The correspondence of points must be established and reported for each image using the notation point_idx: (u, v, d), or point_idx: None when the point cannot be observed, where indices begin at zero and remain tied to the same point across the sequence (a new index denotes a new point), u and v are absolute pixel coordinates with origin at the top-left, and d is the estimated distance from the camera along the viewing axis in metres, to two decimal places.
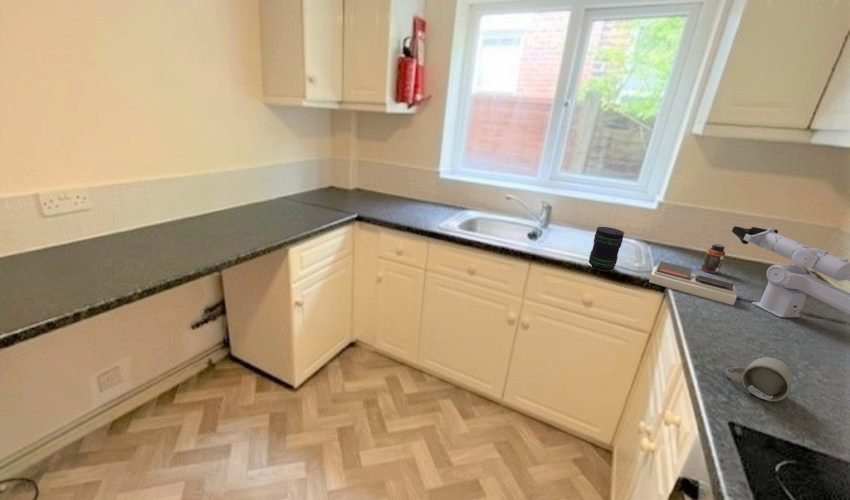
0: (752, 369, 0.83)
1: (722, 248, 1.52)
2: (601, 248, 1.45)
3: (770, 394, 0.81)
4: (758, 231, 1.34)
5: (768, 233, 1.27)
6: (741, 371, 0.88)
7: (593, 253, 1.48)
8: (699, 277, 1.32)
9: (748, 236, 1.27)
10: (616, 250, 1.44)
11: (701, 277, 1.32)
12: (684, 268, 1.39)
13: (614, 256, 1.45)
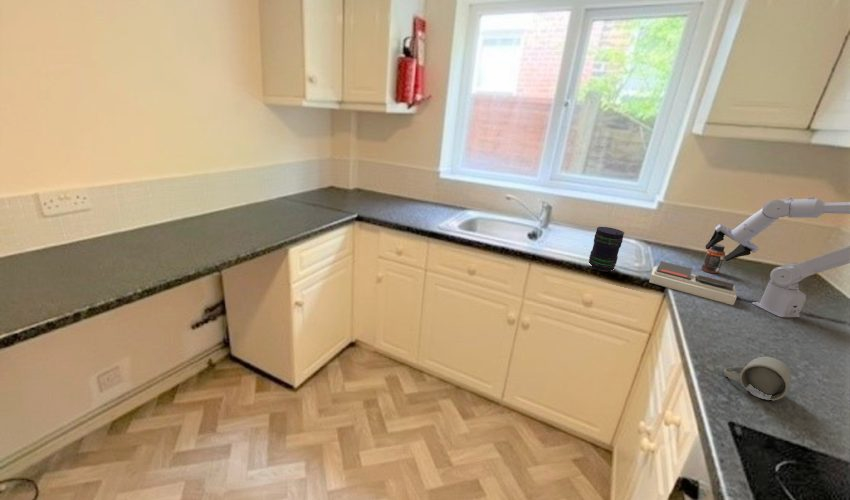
0: (750, 368, 0.83)
1: (722, 248, 1.52)
2: (601, 248, 1.45)
3: (768, 393, 0.81)
4: (732, 253, 1.36)
5: None
6: (740, 370, 0.88)
7: (593, 253, 1.48)
8: (699, 277, 1.32)
9: (718, 225, 1.33)
10: (616, 250, 1.44)
11: (701, 277, 1.32)
12: (684, 268, 1.39)
13: (614, 256, 1.45)
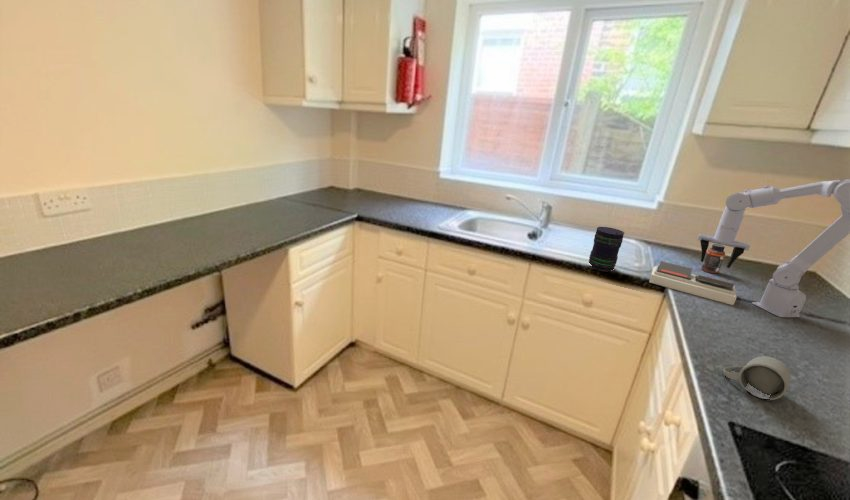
0: (749, 368, 0.83)
1: (722, 248, 1.52)
2: (601, 248, 1.45)
3: (767, 393, 0.81)
4: (730, 259, 1.33)
5: None
6: (739, 370, 0.88)
7: (593, 253, 1.48)
8: (699, 277, 1.32)
9: (698, 236, 1.37)
10: (616, 250, 1.44)
11: (701, 277, 1.32)
12: (684, 268, 1.39)
13: (614, 256, 1.45)
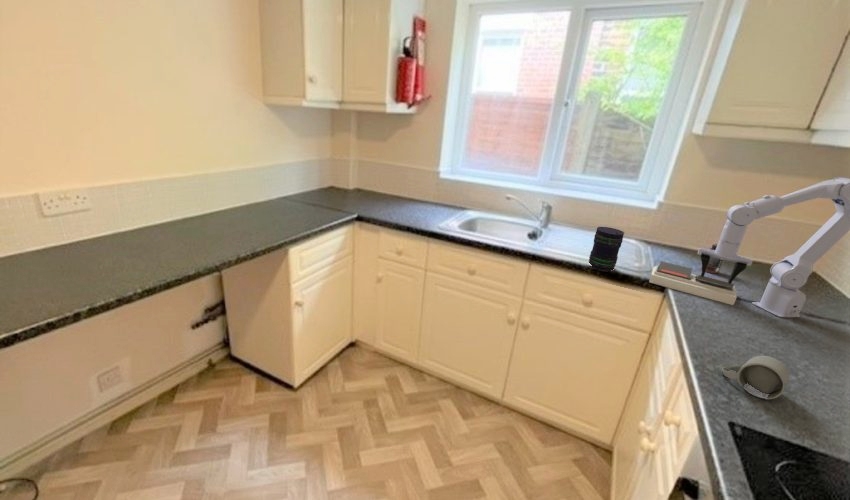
0: (748, 367, 0.84)
1: None
2: (601, 248, 1.45)
3: (766, 392, 0.81)
4: (731, 274, 1.28)
5: None
6: (737, 369, 0.89)
7: (593, 253, 1.48)
8: (699, 277, 1.32)
9: None
10: (616, 250, 1.44)
11: (701, 277, 1.32)
12: (684, 268, 1.39)
13: (614, 256, 1.45)
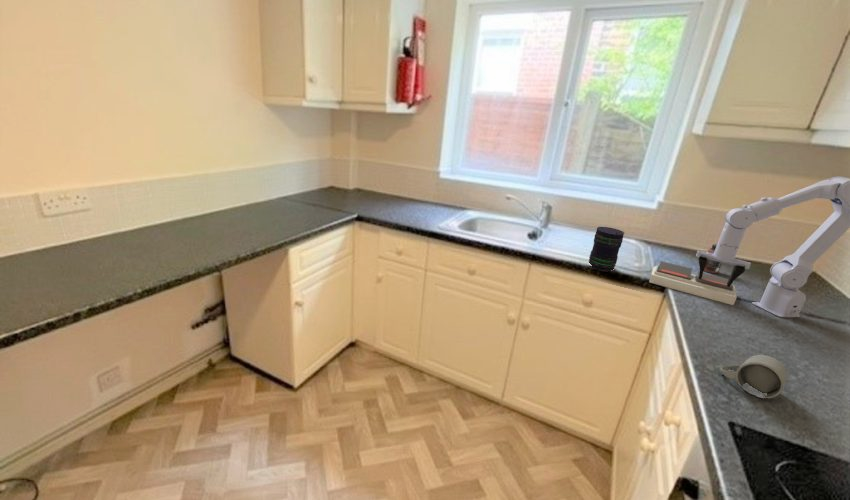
0: (746, 367, 0.84)
1: None
2: (601, 248, 1.45)
3: (764, 391, 0.81)
4: (730, 277, 1.28)
5: None
6: (736, 369, 0.89)
7: (593, 253, 1.48)
8: (698, 280, 1.33)
9: (697, 252, 1.32)
10: (616, 250, 1.44)
11: (700, 280, 1.32)
12: (684, 268, 1.39)
13: (614, 256, 1.45)
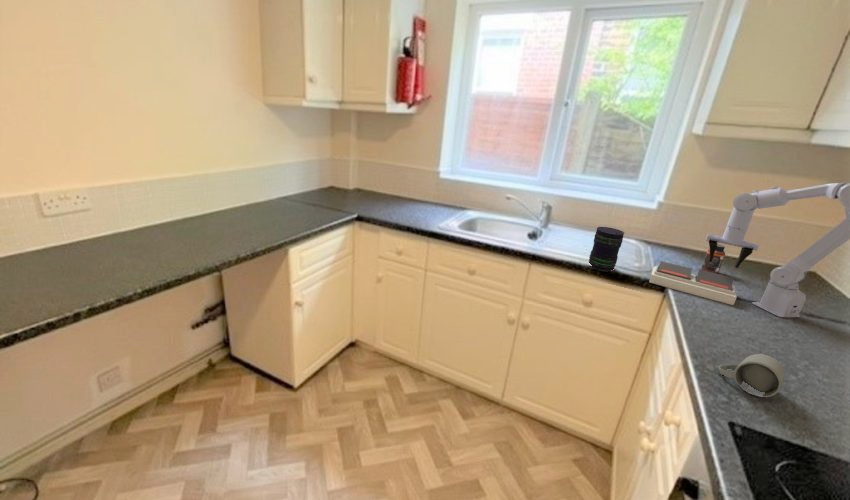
0: (744, 366, 0.84)
1: (722, 248, 1.52)
2: (601, 248, 1.45)
3: (762, 390, 0.82)
4: (738, 259, 1.34)
5: None
6: (734, 368, 0.89)
7: (593, 253, 1.48)
8: None
9: None
10: (616, 250, 1.44)
11: None
12: (684, 268, 1.39)
13: (614, 256, 1.45)
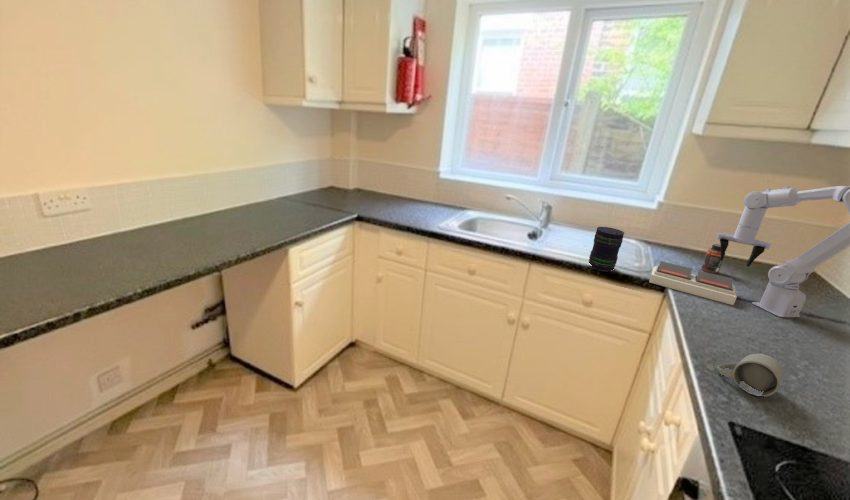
0: (743, 365, 0.84)
1: None
2: (601, 248, 1.45)
3: (760, 390, 0.82)
4: (750, 257, 1.33)
5: None
6: (733, 367, 0.89)
7: (593, 253, 1.48)
8: None
9: None
10: (616, 250, 1.44)
11: (699, 282, 1.32)
12: (684, 268, 1.39)
13: (614, 256, 1.45)
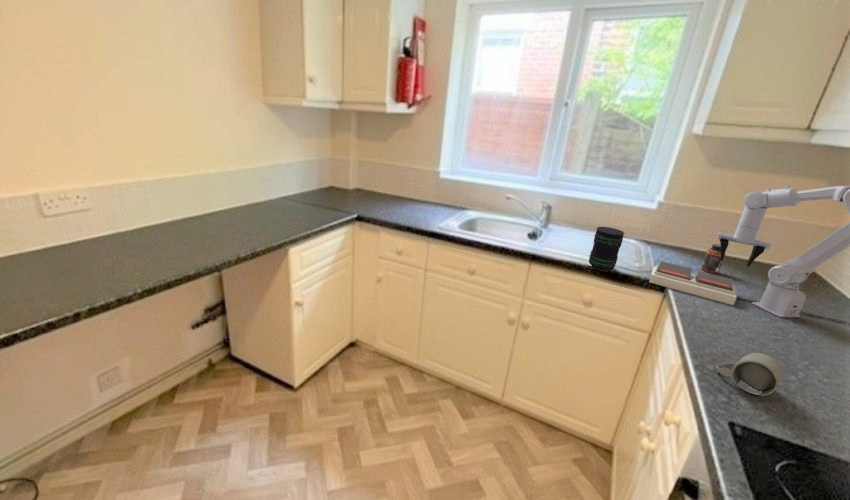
0: (742, 364, 0.84)
1: None
2: (601, 248, 1.45)
3: (759, 389, 0.82)
4: (750, 257, 1.33)
5: None
6: (731, 367, 0.89)
7: (593, 253, 1.48)
8: (698, 281, 1.33)
9: None
10: (616, 250, 1.44)
11: (700, 281, 1.32)
12: (684, 268, 1.39)
13: (614, 256, 1.45)
